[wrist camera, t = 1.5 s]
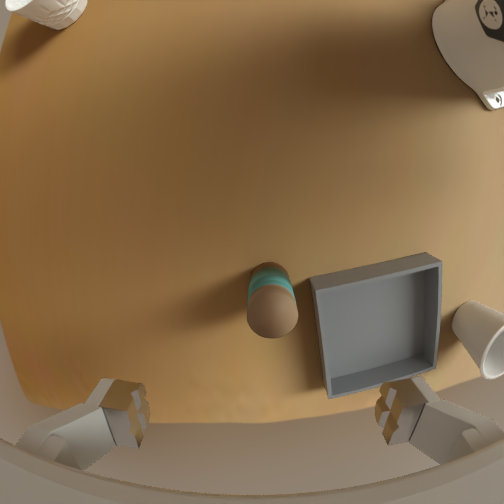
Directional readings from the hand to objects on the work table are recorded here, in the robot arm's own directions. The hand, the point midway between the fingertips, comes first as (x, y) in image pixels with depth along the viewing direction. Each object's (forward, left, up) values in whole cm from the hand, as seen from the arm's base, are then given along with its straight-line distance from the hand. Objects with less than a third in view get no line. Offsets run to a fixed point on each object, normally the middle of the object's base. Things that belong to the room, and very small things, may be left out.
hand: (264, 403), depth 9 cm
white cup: (+19, -37, -26) cm, 49 cm away
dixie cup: (-27, +17, -26) cm, 41 cm away
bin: (-12, +13, -25) cm, 31 cm away
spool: (0, +5, -25) cm, 26 cm away
